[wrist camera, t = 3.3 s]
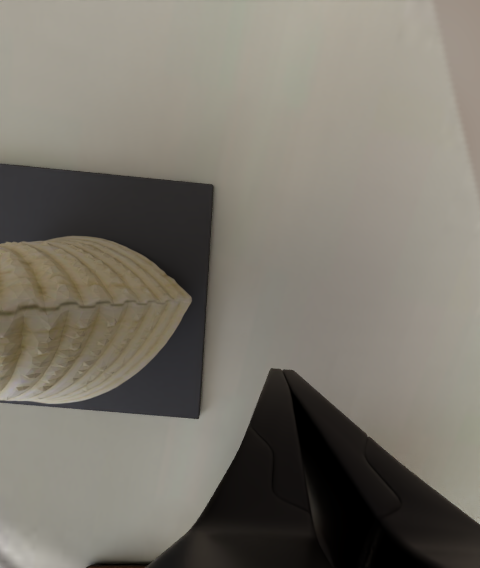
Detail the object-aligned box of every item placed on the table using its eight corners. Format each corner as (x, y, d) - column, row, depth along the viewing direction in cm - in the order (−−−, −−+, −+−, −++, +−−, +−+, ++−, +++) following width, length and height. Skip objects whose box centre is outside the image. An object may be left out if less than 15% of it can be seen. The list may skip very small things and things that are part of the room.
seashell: (-92, 231, 10) (-77, 138, 6) (111, 259, 17) (190, 227, 13) (-111, 437, 9) (-112, 524, 5) (114, 377, 16) (201, 388, 11)
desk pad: (213, 185, 12) (212, 184, 12) (199, 414, 16) (198, 419, 15) (-234, 141, 12) (-251, 138, 11) (-145, 385, 15) (-155, 390, 15)
